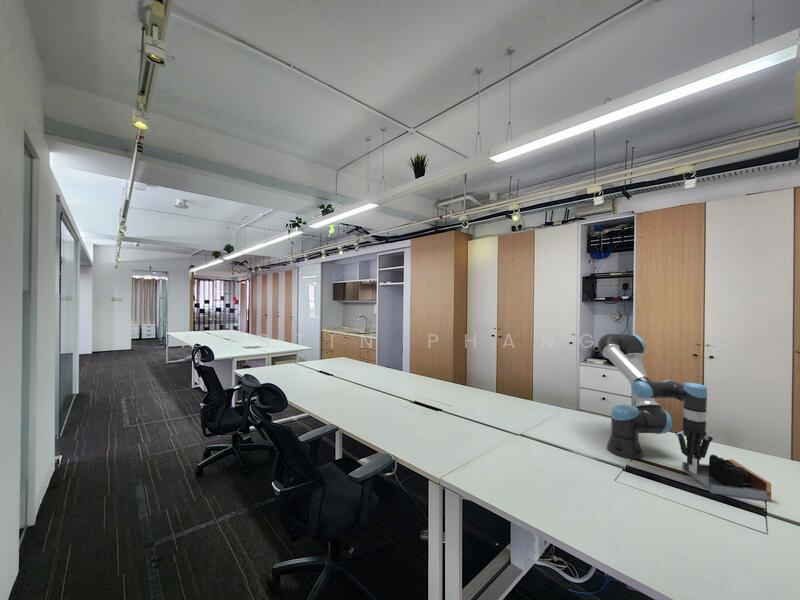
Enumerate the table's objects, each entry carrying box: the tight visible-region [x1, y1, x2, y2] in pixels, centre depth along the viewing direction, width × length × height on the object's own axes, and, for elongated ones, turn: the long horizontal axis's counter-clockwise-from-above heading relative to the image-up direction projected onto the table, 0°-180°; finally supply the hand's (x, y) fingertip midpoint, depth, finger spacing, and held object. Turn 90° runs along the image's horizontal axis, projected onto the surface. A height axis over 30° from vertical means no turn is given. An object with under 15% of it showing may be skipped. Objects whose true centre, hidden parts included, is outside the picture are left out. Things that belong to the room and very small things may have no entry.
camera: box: [708, 454, 750, 487], centre depth 136 cm, size 14×11×10 cm
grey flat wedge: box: [681, 458, 772, 502], centre depth 138 cm, size 20×19×7 cm
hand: (692, 471), depth 141 cm, fingers closed
